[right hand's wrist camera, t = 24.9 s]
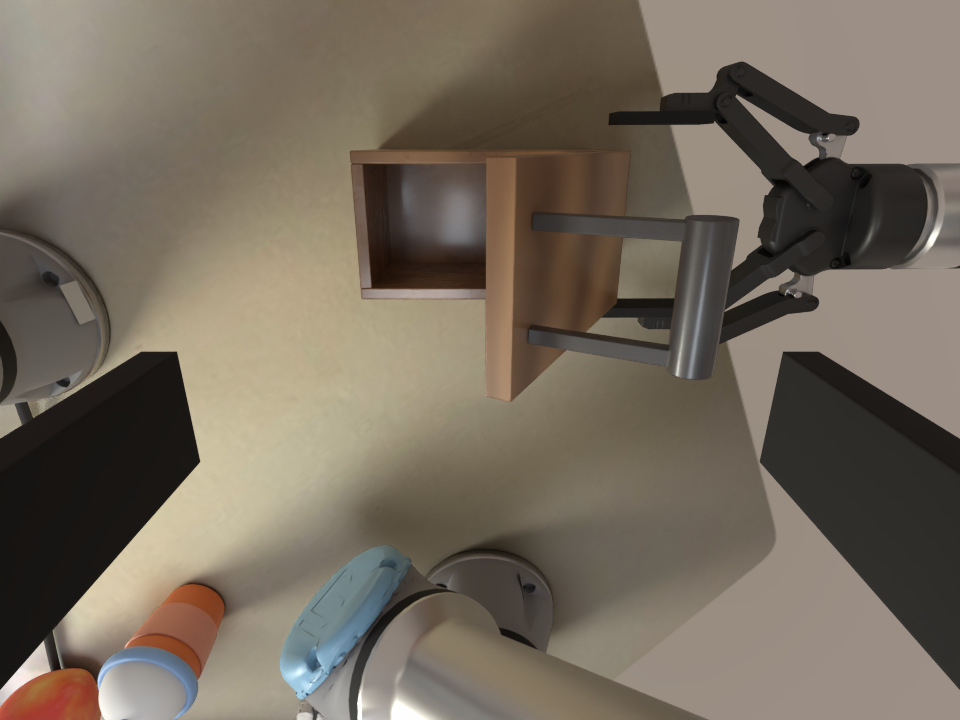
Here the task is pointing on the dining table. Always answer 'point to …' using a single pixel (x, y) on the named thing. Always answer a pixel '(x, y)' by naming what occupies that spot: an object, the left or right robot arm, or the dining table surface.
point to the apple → (55, 698)
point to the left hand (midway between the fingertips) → (604, 218)
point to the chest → (424, 220)
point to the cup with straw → (162, 659)
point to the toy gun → (308, 712)
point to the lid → (587, 269)
